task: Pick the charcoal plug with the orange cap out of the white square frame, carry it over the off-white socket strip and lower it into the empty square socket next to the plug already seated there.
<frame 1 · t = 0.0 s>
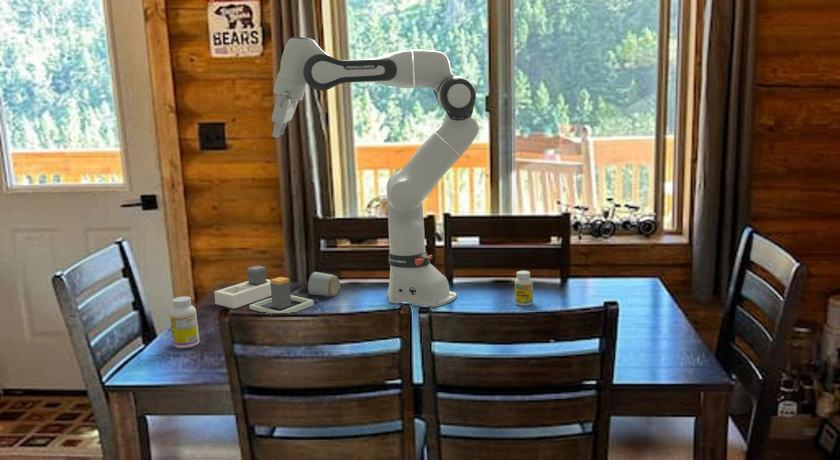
hand: (277, 135, 217), 52 cm above the table, tool tilted 20°, fingers open, 8 cm apart
twin plug: (258, 294, 233), resting on socket strip
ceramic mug: (326, 295, 234), on the table
grey plug: (282, 307, 220), point 1 cm above the table, touching white square frame
white square frame: (282, 309, 220), on the table
supplement bottle 2: (523, 303, 217), on the table
socket strip: (248, 301, 230), on the table
supplement bottle: (186, 345, 194), on the table
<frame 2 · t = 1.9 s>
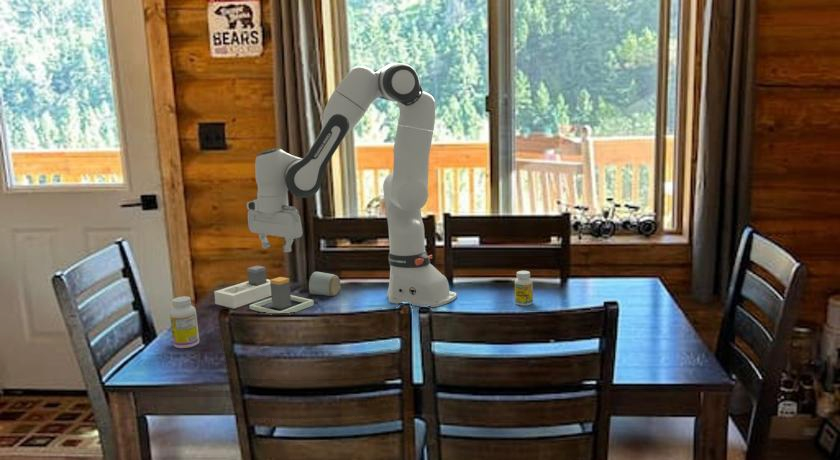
hand: (276, 249, 216), 19 cm above the table, tool pointing down, fingers open, 8 cm apart
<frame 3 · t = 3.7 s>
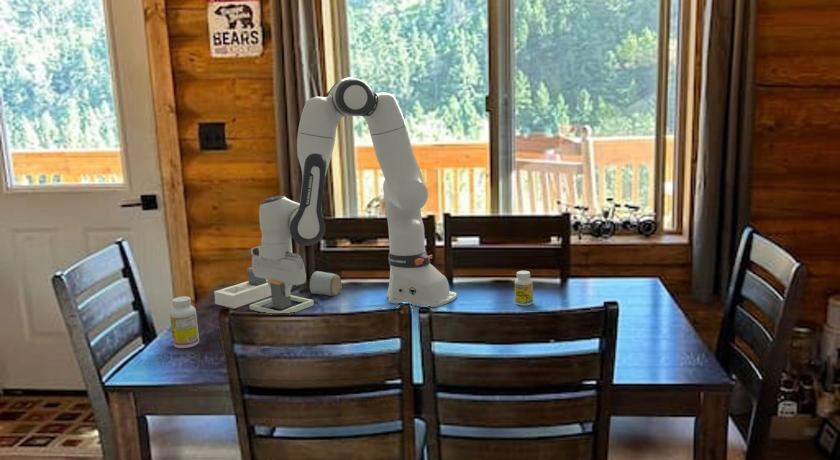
hand: (280, 294, 219), 5 cm above the table, tool pointing down, fingers closed on grey plug, 4 cm apart
grey plug: (282, 307, 220), point 1 cm above the table, touching gripper, white square frame
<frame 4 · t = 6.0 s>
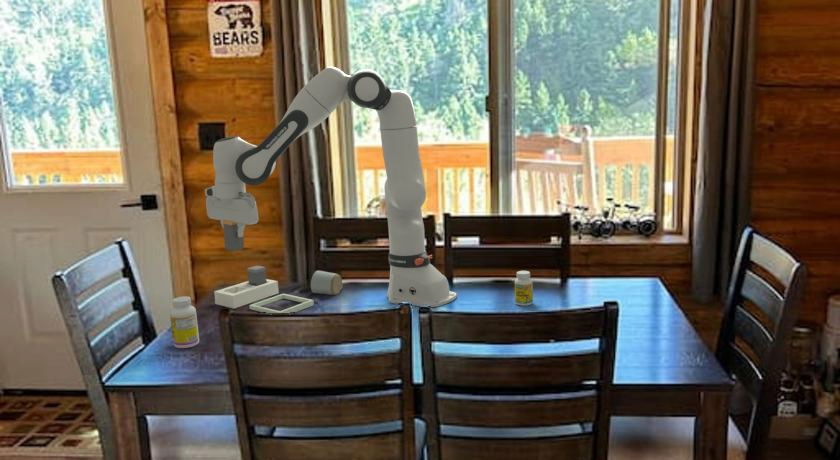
hand: (233, 235, 221), 22 cm above the table, tool pointing down, fingers closed on grey plug, 4 cm apart
grey plug: (234, 248, 221), point 18 cm above the table, touching gripper
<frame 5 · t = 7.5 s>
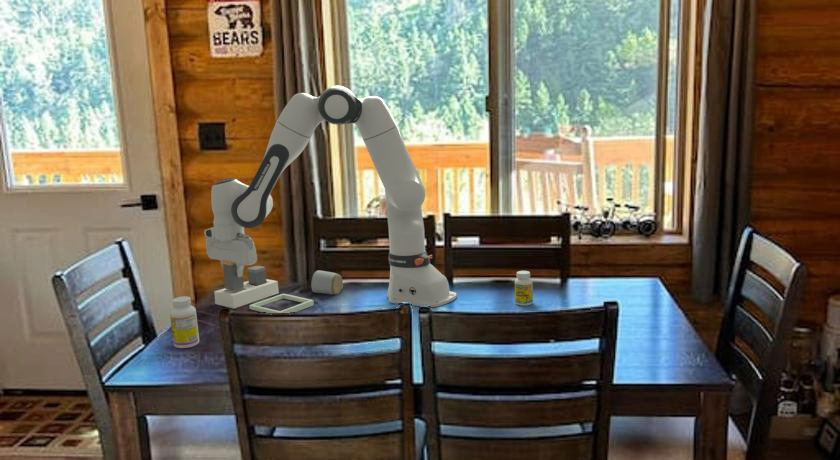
hand: (233, 275, 224), 10 cm above the table, tool pointing down, fingers closed on grey plug, 4 cm apart
grey plug: (234, 288, 225), point 6 cm above the table, touching gripper
when the fingers open (7 cm above the table, at t = 8.4 s): grey plug drops 1 cm, resting on socket strip.
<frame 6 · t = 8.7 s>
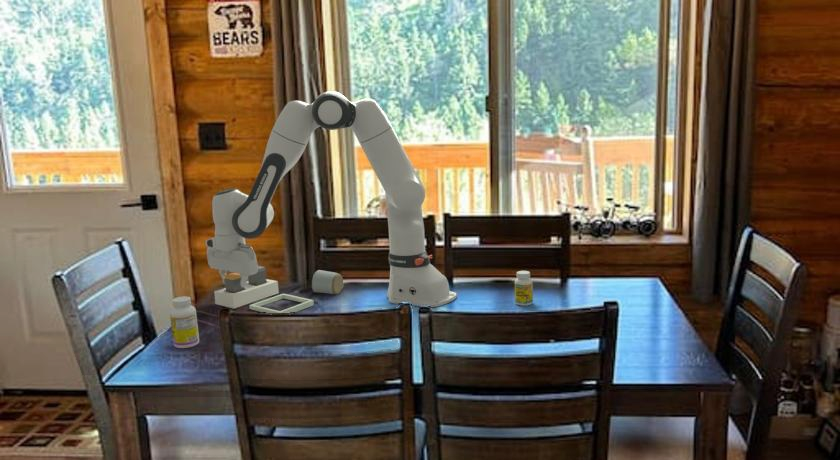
hand: (234, 285, 225), 7 cm above the table, tool pointing down, fingers open, 7 cm apart
grey plug: (236, 302, 226), point 1 cm above the table, touching socket strip
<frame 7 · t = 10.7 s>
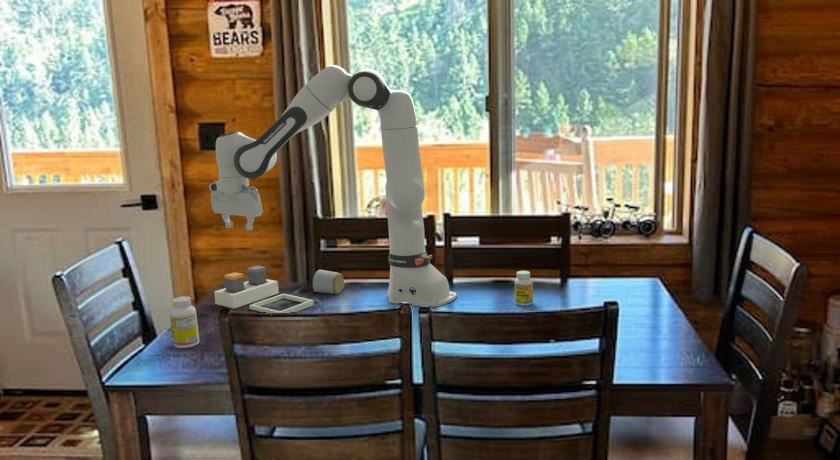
hand: (239, 228, 226), 23 cm above the table, tool pointing down, fingers open, 8 cm apart
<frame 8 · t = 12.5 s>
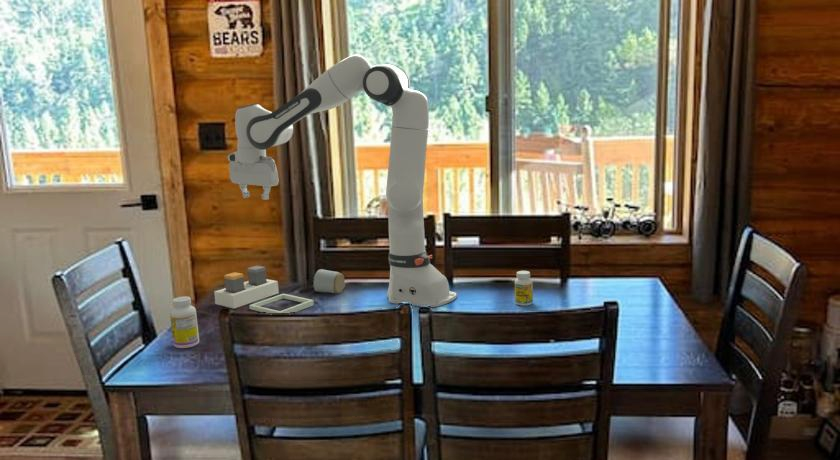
hand: (255, 198, 235), 31 cm above the table, tool pointing down, fingers open, 8 cm apart
at the end: grey plug 0.1 cm from the target spot on the socket strip, point 1.0 cm above the socket strip's base; grey plug tilted 0°; the gripper is holding nothing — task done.
